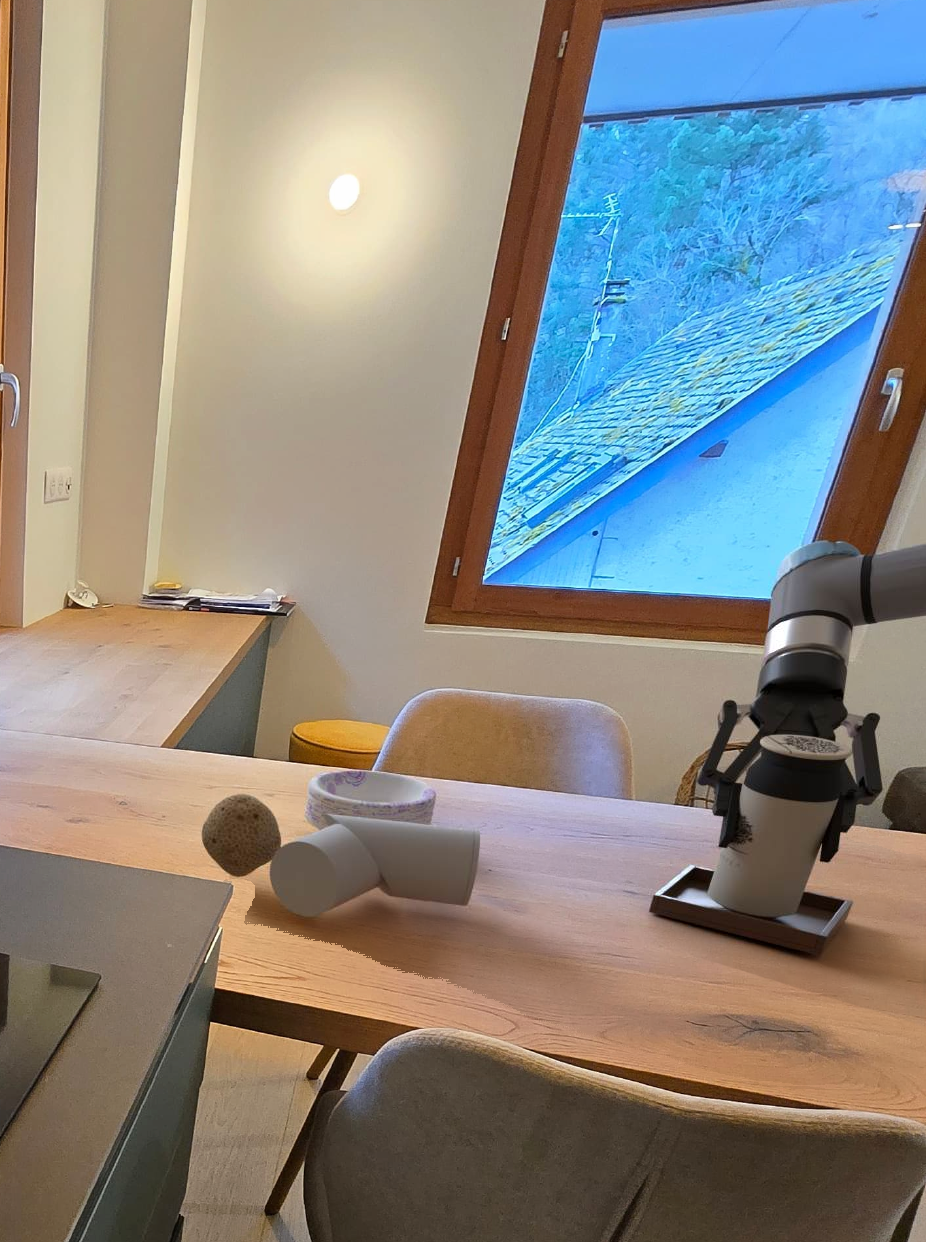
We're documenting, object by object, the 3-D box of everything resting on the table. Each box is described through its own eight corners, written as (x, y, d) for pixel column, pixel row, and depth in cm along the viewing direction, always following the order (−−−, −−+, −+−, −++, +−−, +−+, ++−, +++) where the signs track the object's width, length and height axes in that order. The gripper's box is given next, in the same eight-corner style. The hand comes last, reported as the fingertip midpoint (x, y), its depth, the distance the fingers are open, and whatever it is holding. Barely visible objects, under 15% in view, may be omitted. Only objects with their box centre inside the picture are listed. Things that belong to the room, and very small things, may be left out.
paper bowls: (337, 814, 145) (346, 759, 142) (446, 843, 135) (458, 785, 131) (278, 843, 136) (286, 785, 132) (390, 876, 126) (401, 814, 122)
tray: (846, 918, 113) (853, 901, 113) (820, 955, 104) (827, 936, 104) (685, 881, 124) (690, 864, 123) (648, 912, 115) (653, 894, 114)
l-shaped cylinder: (350, 841, 129) (250, 885, 117) (381, 766, 122) (279, 804, 111) (482, 916, 118) (386, 972, 107) (523, 838, 112) (426, 888, 101)
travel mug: (783, 894, 115) (841, 737, 108) (805, 924, 109) (868, 759, 101) (699, 884, 118) (749, 730, 110) (715, 913, 112) (770, 751, 104)
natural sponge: (180, 868, 126) (187, 791, 122) (234, 853, 131) (242, 777, 126) (234, 895, 119) (244, 813, 115) (289, 878, 123) (300, 799, 119)
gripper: (910, 699, 113) (890, 883, 106) (682, 680, 122) (650, 848, 116) (941, 656, 107) (922, 849, 100) (698, 640, 116) (666, 815, 110)
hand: (776, 848), depth 108 cm, fingers closed on travel mug, 8 cm apart
